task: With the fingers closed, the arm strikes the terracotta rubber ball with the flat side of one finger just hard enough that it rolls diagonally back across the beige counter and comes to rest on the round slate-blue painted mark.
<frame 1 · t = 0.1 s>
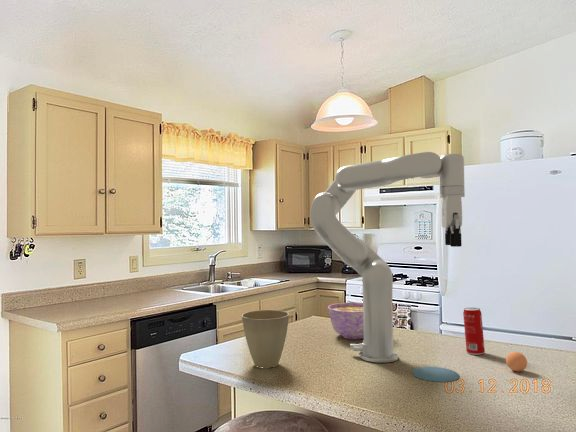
hand: (453, 245, 146), 37 cm above the counter, tool pointing down, fingers open, 9 cm apart
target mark: (435, 374, 132), on the counter
plant pot: (265, 365, 142), on the counter
beverage can: (474, 353, 153), on the counter
bowl of food: (353, 337, 177), on the counter
ball: (516, 361, 134), on the counter
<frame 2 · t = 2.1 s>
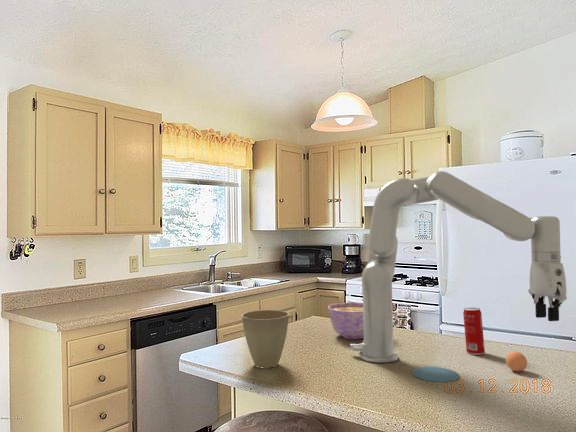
hand: (547, 318, 135), 15 cm above the counter, tool pointing down, fingers open, 4 cm apart
nothing on the counter moved.
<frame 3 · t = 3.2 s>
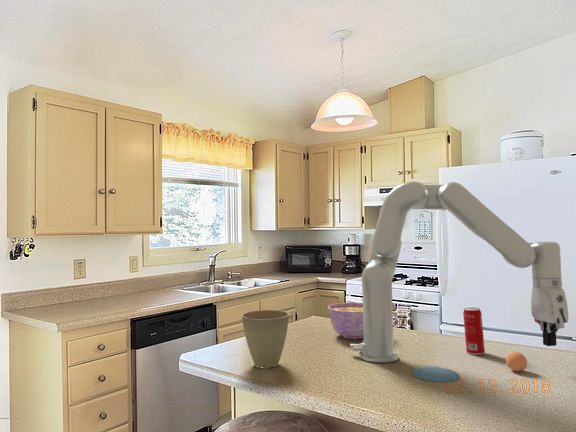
hand: (549, 345, 135), 7 cm above the counter, tool pointing down, fingers closed
nothing on the counter moved.
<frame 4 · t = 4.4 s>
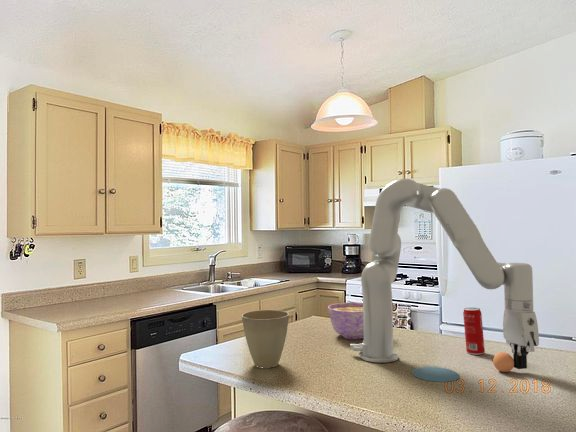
hand: (520, 367, 133), 1 cm above the counter, tool pointing down, fingers closed
ball: (503, 362, 134), on the counter
everything else where it was.
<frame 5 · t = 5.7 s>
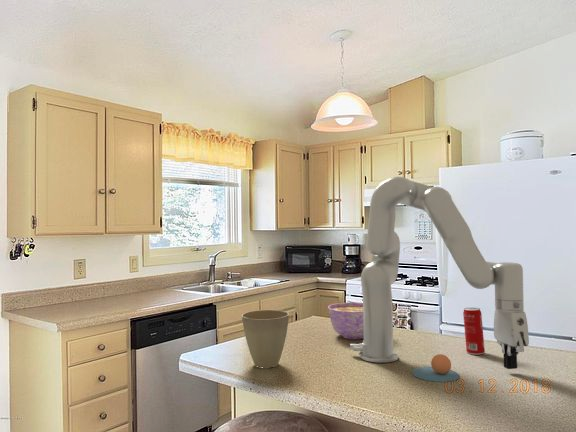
hand: (510, 367, 132), 2 cm above the counter, tool pointing down, fingers closed
ball: (441, 364, 132), on the counter
everything else where it was.
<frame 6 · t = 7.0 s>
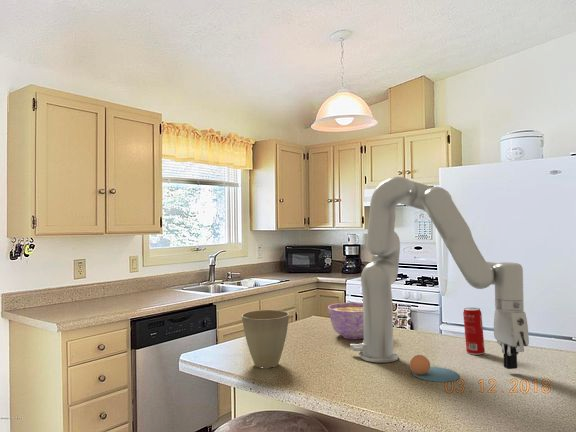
hand: (510, 367, 132), 2 cm above the counter, tool pointing down, fingers closed
ball: (420, 364, 132), on the counter
everything else where it was.
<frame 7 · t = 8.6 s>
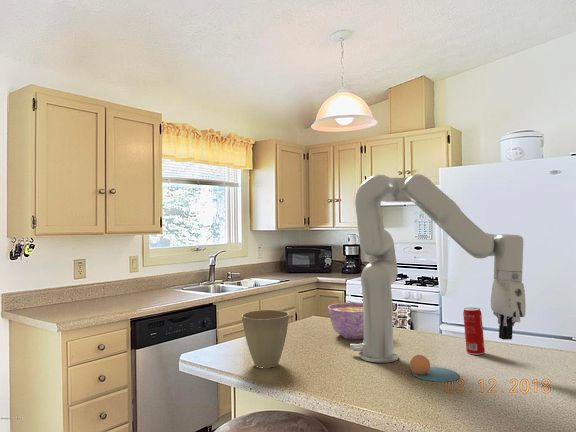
hand: (505, 338, 133), 10 cm above the counter, tool pointing down, fingers closed
nothing on the counter moved.
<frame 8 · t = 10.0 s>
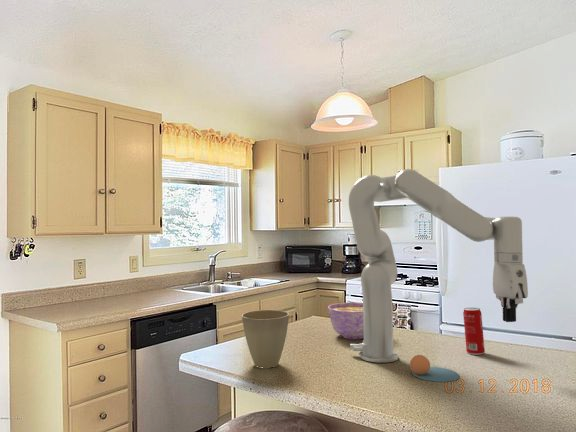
hand: (509, 321, 133), 15 cm above the counter, tool pointing down, fingers closed
nothing on the counter moved.
at the end: ball 4.5 cm from the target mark (horizontally); ball at rest at the end (0.0 cm/s); ball moved 29.4 cm from its start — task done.
